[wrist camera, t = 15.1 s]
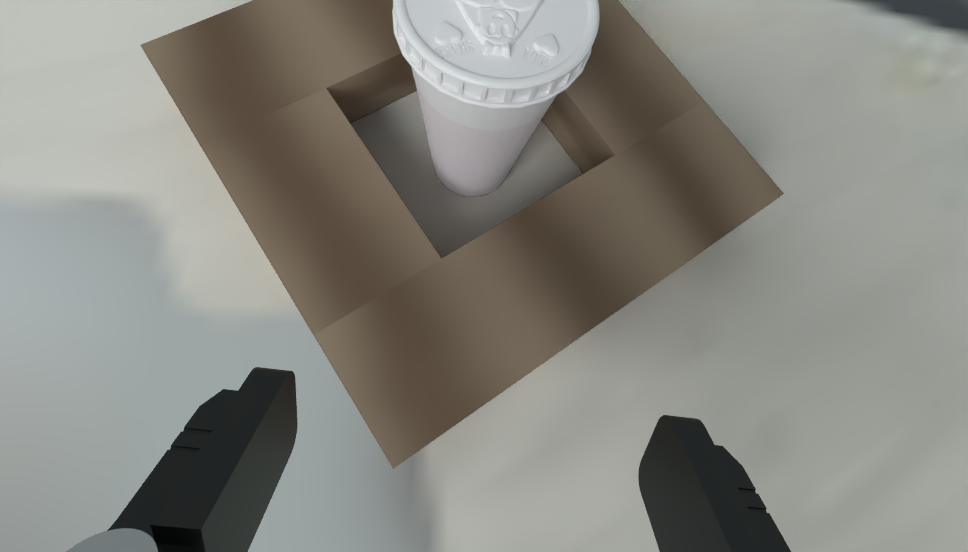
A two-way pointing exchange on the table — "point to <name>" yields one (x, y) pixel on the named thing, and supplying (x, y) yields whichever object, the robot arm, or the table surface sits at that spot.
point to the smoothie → (489, 76)
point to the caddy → (397, 236)
